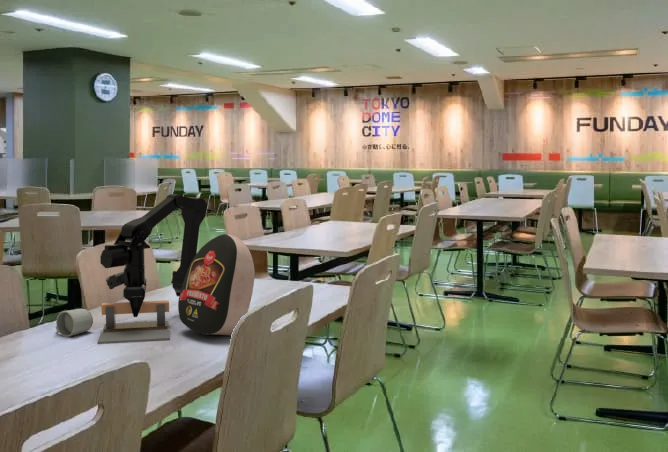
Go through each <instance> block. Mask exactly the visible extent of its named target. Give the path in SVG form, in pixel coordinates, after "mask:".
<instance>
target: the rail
mask: <svg viewBox="0 0 668 452" xmlns="http://www.w3.org/2000/svg"><path fill="white" fill-rule="evenodd" d="M164 304H165V313H170V300H168V299H167V300H149V301H148V300H147V301H146V300H143V303H142V306H141V308H140V311H139V314H150V313H152V314H153V313H155V314H156V313H157V305H164ZM106 307H114V314H115V315H129V314H131V315H133V313H132V309H131V305H130V302H129V301H120V302H119V301H118V302H102V303H101V311H100V312H101V316H106Z"/></svg>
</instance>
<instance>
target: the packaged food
mask: <svg viewBox="0 0 668 452" xmlns="http://www.w3.org/2000/svg"><path fill="white" fill-rule="evenodd" d="M255 275H256V274H255V265H254V259H253V256H252V254H251V252H250V250H249V247H248V246H247V244H245V242H243V240H242V239H240V237H238V236H236V235H234V234H229V233H224V234H219V235H218V236H216V237H213V238H212V239H211V240H209V241H208V242H206V243H204V245H203V246H202V247H200V248H199V250H197V254H196V255H195V257H194V259H193V260H192V262H191V264H190V266H189V268H188V271H187V274H186V277H185V280H184V282H183V285H182V288H181V292H180V296H178V300H177V301H178V302H177V304H178V305H177V309H178V310H177V311H178V316H179V319H180V322H182V324H183V325H184V326H185V327H187V328H188V329H190V330H192V331H194V332H196V333H199V334H201V335H220V336H221V335H222V336H232V335H231V334H232V332H233V329H234V328H235V326H236V325H237V323H238V321H239V320H240V318H241V317H242V316H243V315H245V314H246V313H247V314H248V312H249V308H250V305H251V302H252V297H253V293H254V286H255V285H254V284H255Z"/></svg>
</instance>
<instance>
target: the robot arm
mask: <svg viewBox="0 0 668 452" xmlns="http://www.w3.org/2000/svg"><path fill="white" fill-rule="evenodd" d="M177 209H179V210H181V211H180V213H181V217H182V220H183V223H184V227H183V235H182V237H183V238H182V245H181V255H180V261H179V262H180V264H179V267H178V268H177V270H173V271H172V279H171V281H170V283H171V284H172V285H171V286H172V289H173V290H174V292H175V296H176V297H179V296H180V292H181V288H182V285H183V282H184V280H185V277H186V274H187V271H188V268H189V266H190V264H191V262H192V260H193V259H194V257H195V255H196V254H197V253H198V245H199V234H200V226H201V224H202V222H203V220H204V219H205V218H206V214H207V210H208V203H207V201H206V200H205V199H204V198H202V197H192V196H191V197H190V196H183V195H181V194H178V193H177V194H175V193H170V194H168V195H167V196H166V197H165V198H164V199H163V200H162V201H160V202H159V203H158V204H156V206H154V207H153V208H152V209H150V210H149V211H147V213H145V214H144V215H142V216H141V217H138V218H135V219H132V220H130V221H128V222H126V223H125V224H123V226H122V227H121V228H120V229H121V231H120V233H119V235H118V237H116V240H115V241H114V242H113V244H105V245H104V249H103V250H102V251H101V253H100V254H101V255H100V258H99V259H100V263H101V265H102V267H103V268H105V269H111V268H119V267H124V266H125V267H124V268H123V271H121V272H118V273H116V274H115V273H114V274H112V275H109V276H108V277H106V279H105V281H106V285H107V286H108V289H109V290H113V289H115V288H116V287H120V286H122V285H123V286H124V287H123V290H122V292H123V296H122V297H123V298H124V299H125V300H127V302H130V305H131V309H132V313H133V314H132V316H133V318H137V317H138V316H139V314H140V313H139V311H140V308H141V306H142V303H143V301H145V299H146V290H147V285H148V283H147V278H146V276H145V275H146V271H145V269H146V265H145V249H151V245H149V244H148V243H147V241H146V240H147V238H149V236H151V234H152V232H153V229H154V227H156V226H157V225H158V224H159V223H160V222H162V221H163V220H164V219H166V218H167V217H169V215H170V214H172V213H173V212H174V211H175V210H177Z"/></svg>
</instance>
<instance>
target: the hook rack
mask: <svg viewBox="0 0 668 452" xmlns="http://www.w3.org/2000/svg"><path fill="white" fill-rule="evenodd" d="M168 323H169V322H168V320H166V312H165V304H164V305H157V312H156V320H155V321H134V322H132V321H131V322H116V314H114V307H106V315H105V323H104V326H103V328H102V333H107V332H127V331H147V330H166V329H169V324H168Z"/></svg>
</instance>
